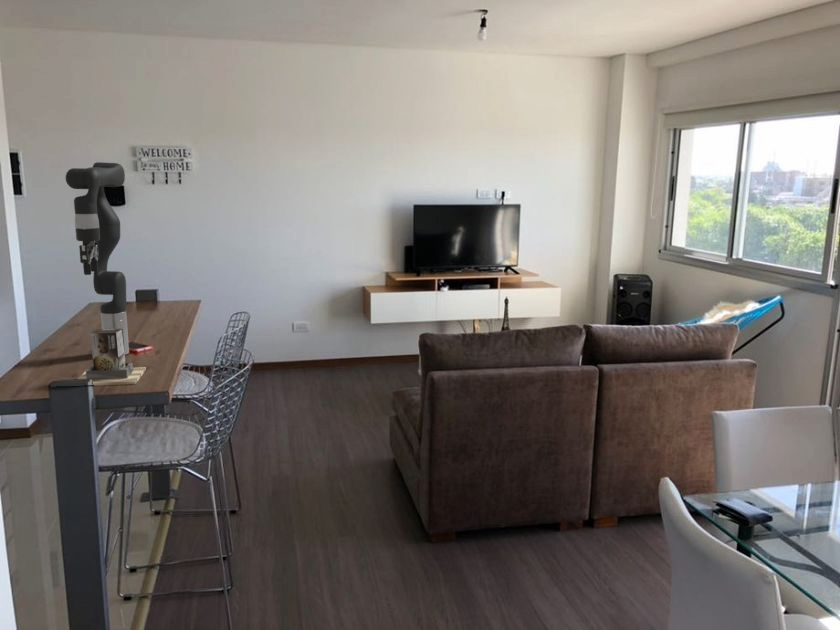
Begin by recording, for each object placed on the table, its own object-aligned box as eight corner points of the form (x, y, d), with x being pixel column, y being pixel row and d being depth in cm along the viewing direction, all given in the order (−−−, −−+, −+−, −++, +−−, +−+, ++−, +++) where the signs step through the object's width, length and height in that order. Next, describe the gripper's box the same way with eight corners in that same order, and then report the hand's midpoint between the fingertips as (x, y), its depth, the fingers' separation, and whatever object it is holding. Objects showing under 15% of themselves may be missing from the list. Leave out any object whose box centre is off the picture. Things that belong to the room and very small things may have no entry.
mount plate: (87, 372, 243) (86, 361, 242) (146, 369, 247) (145, 359, 246) (72, 386, 225) (71, 375, 225) (135, 384, 229) (134, 372, 229)
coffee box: (127, 372, 239) (123, 328, 236) (120, 377, 233) (116, 332, 230) (101, 372, 239) (97, 328, 236) (93, 377, 233) (89, 332, 230)
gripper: (81, 225, 240) (85, 270, 243) (69, 228, 226) (73, 276, 229) (104, 225, 241) (107, 270, 244) (93, 228, 227) (97, 275, 230)
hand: (91, 273), depth 237 cm, fingers open, 8 cm apart
